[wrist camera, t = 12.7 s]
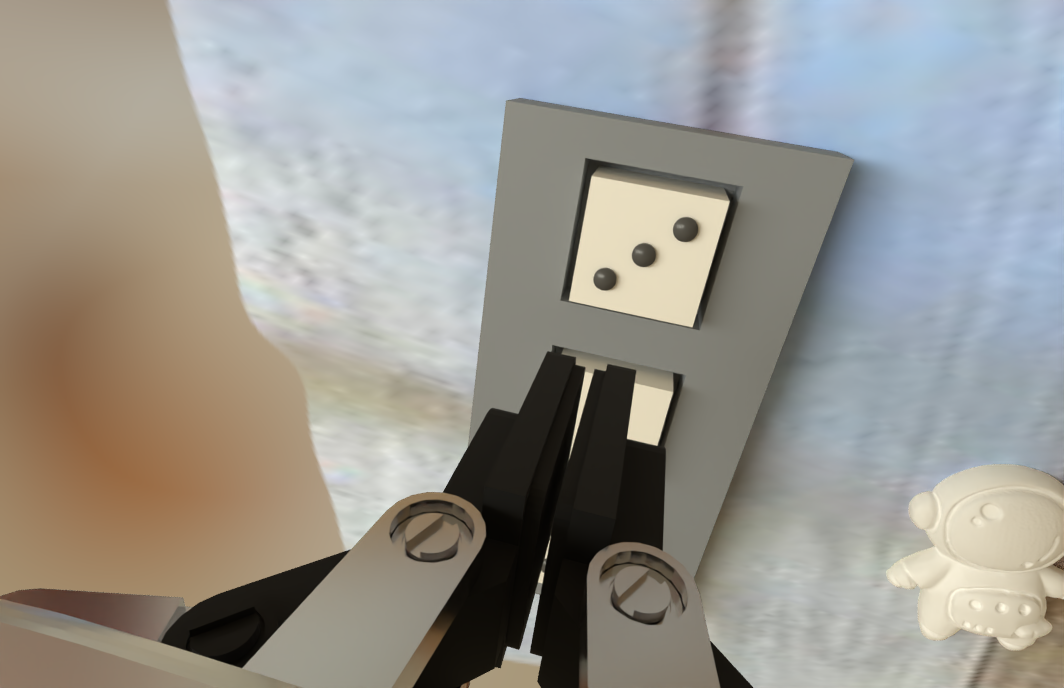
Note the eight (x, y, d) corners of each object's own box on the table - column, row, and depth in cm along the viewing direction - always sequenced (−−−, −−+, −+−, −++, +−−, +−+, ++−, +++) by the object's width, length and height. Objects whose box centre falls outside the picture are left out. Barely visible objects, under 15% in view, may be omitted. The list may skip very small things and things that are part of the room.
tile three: (723, 188, 25) (730, 202, 23) (690, 303, 28) (692, 329, 25) (599, 165, 26) (591, 176, 23) (578, 279, 29) (568, 302, 26)
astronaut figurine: (867, 614, 35) (884, 659, 32) (922, 450, 30) (947, 488, 27) (1034, 640, 33) (1066, 690, 30) (1123, 471, 28) (1170, 514, 25)
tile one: (673, 363, 30) (673, 394, 27) (648, 450, 32) (645, 486, 29) (567, 339, 30) (556, 367, 27) (550, 426, 33) (539, 459, 30)
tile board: (837, 152, 24) (854, 160, 22) (673, 599, 37) (673, 632, 35) (520, 98, 26) (506, 100, 24) (466, 542, 39) (454, 570, 37)
